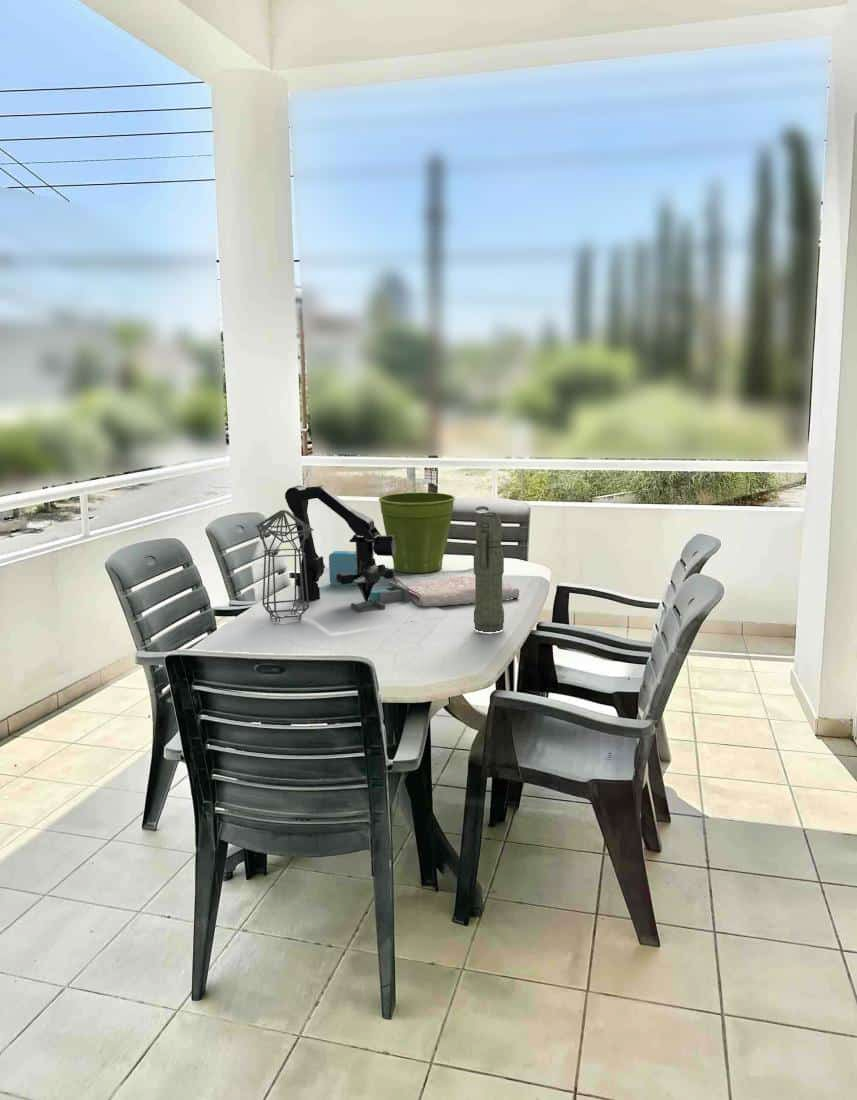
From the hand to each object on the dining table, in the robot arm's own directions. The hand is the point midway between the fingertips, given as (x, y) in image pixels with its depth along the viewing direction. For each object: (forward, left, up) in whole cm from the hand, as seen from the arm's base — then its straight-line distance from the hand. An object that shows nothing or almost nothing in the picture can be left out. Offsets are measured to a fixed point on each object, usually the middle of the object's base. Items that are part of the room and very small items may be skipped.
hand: (366, 600), depth 291 cm
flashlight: (+20, -47, -1) cm, 51 cm away
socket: (+8, 0, -1) cm, 8 cm away
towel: (+32, -2, -2) cm, 32 cm away
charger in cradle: (-3, -8, -1) cm, 9 cm away
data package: (+5, +31, -1) cm, 32 cm away
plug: (+5, 0, -1) cm, 5 cm away
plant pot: (+39, +41, -1) cm, 57 cm away
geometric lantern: (-29, -6, -1) cm, 30 cm away
